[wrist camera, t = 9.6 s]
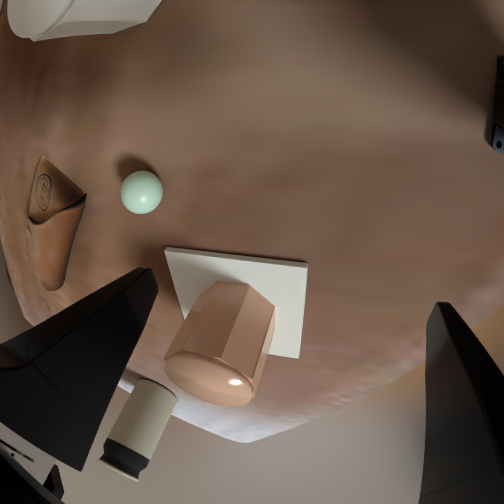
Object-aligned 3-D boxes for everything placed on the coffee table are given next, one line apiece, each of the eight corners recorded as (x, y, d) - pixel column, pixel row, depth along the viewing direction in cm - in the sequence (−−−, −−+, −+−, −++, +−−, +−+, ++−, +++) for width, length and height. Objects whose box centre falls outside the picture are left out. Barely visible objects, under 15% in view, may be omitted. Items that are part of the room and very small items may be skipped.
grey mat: (307, 263, 22) (306, 267, 22) (299, 353, 29) (298, 358, 29) (167, 246, 25) (164, 250, 25) (192, 334, 32) (190, 338, 32)
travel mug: (131, 373, 46) (87, 454, 32) (168, 384, 44) (124, 475, 30) (149, 394, 51) (111, 468, 37) (183, 405, 48) (147, 486, 34)
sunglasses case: (38, 148, 22) (14, 194, 19) (96, 167, 26) (82, 215, 23) (27, 245, 33) (17, 286, 30) (69, 257, 37) (62, 298, 34)
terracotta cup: (274, 288, 24) (248, 371, 18) (275, 341, 28) (254, 413, 22) (194, 277, 26) (152, 348, 19) (207, 329, 30) (177, 393, 23)
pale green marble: (166, 163, 20) (142, 181, 18) (173, 202, 22) (152, 223, 20) (132, 165, 21) (107, 182, 19) (140, 201, 23) (118, 220, 21)
